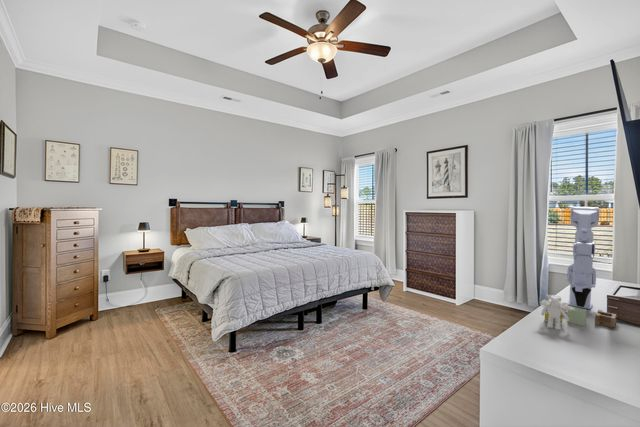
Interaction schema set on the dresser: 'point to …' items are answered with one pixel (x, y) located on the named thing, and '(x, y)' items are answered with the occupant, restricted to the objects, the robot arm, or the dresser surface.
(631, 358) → the dresser surface
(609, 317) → the walnut channel
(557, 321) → the blocky character figurine
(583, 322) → the sage block
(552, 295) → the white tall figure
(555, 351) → the dresser surface
